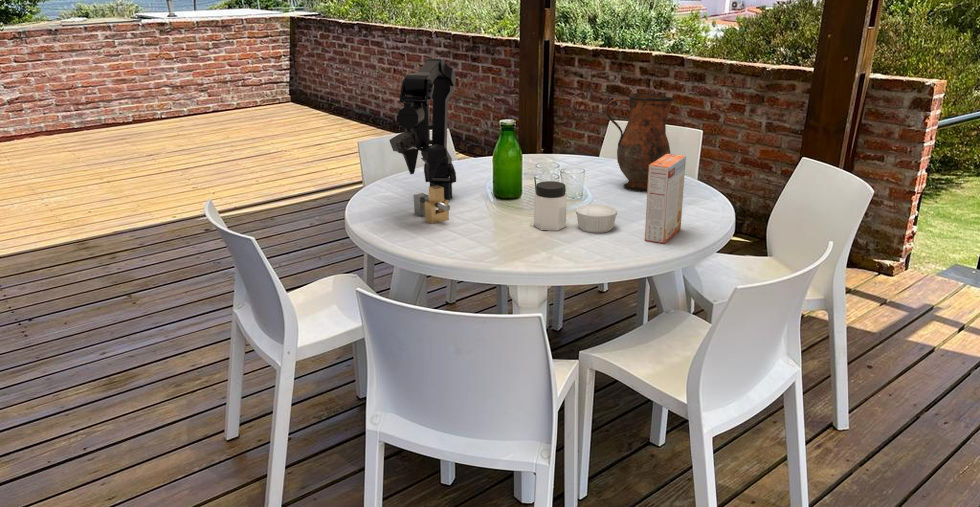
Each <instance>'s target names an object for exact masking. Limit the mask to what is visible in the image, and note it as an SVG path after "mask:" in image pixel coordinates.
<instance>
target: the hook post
mask: <svg viewBox="0 0 980 507" xmlns="http://www.w3.org/2000/svg"><path fill="white" fill-rule="evenodd" d="M426 201H429V194H426V193H423V192H421V193H417V194H413V203H414V204H413V206H414V211H413V212H414V215H416V216H417V217H421V218H422V217H425V202H426ZM430 202H431V201H430ZM433 203H434V202H433ZM435 208H437V209H438V208H439V209H442V210H445V211H449V212H450V209H451V205H450V204H448V205H447V204H444V203H442V202H439V203H435Z"/></svg>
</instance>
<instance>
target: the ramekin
mask: <svg viewBox="0 0 980 507" xmlns="http://www.w3.org/2000/svg"><path fill="white" fill-rule="evenodd" d="M575 214H576V218H577V225H578V227H579V228H580V230H582V231H583V232H587V233H594V234H595V233H596V234H600V233H606V232H607V233H608V232H610V231H611V230H613V228H614V226H615V221H616V218H617V215H618V209H617V208H615V207H613V206H610V205H607V204H606V205H605V204H585V205H581V206H578V207H577V208H576V209H575Z"/></svg>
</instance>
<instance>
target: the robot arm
mask: <svg viewBox="0 0 980 507" xmlns="http://www.w3.org/2000/svg"><path fill="white" fill-rule="evenodd" d="M456 77H457V76H456V73H455V71H454V69H453V67H452V66H450V65H448V64H446V62H445V61H444V59H442V58H427V59H425V61H424V64H423V65H422V66H421V67H420V68H419V69H418V70H417V72H410V73H408V74H405V76H404V78H403V79H402V82H401V88H400V95H399V103H403V107H402V108H401V109H399V111H398V112H397V116H396V119H397V122H398V124H399V126H400V127H401V128H403V129H404V131H402V132H400V133H399V134H397V135H394V136H393V137H392V138H390V139H389V140H388V141H389V143H390V147H391V149H392V151H393V152H397V153H398V154H400V155H402V157H403V159H404V161H405V163H406V166H407V170H408V172H409V175H413V174H414V173H415V170H416V167H417V161H418V157H419V156H418V155H419V151H420V154H421V158H420V159H421V160H422V161H423V162H424V164H423V165H424V166H423V172H424V173H423V174H424V180H425V183H429V187H431V186H436V185H438V186H441V187H444V199H446V200H448V201H450V200H451V199H453V183H457V173H456V169H455V167H454V164H453V160H452V159H453V158H452V156H451V155H450V153H449V151H448V147H447V146H448V117H449V116H448V114H449V113H448V112H449V109H448V108H449V99H451V97H452V95H453V94H454V90H455V89H454V88H455V86H456V83H457V82H456V81H457V78H456ZM430 100H432V115H431V116H432V122H431V124H430V105H429V104H430V103H429V102H430ZM431 130H432V131H431ZM430 131H431V133H430ZM430 135H431V136H430Z"/></svg>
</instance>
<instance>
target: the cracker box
mask: <svg viewBox="0 0 980 507" xmlns="http://www.w3.org/2000/svg"><path fill="white" fill-rule="evenodd" d="M686 158H687V156H686V155H681V154H679V155H678V154H674V153H673V154H672V153H671V154H666V155H664V156H662V157H661V158H659V159H658V160H656V161H655V162H653V163H651V164H650V165H649V169H648V189H647V192H646V208H645V210H646V211H645V228H644V241H645V242H652V243H660V244H666V243H667V242H668V241H669V240H670V239H671V238H672V237H673V236H675V235H676V234H677V233H678V232H679V231H680V230H681V229H682V228H681V227H682V218H683V217H682V216H683V201H684V191H685V190H684V189H685V188H684V187H685V175H686V165H687V164H686V163H687V162H686V160H687V159H686Z"/></svg>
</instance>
